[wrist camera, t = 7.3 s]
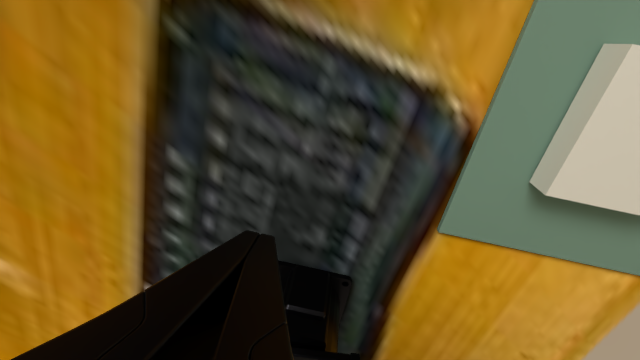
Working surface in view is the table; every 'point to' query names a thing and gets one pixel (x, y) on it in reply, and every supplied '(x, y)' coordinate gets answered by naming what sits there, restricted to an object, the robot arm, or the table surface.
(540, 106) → the mat
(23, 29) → the table surface
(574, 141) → the block
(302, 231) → the table surface
